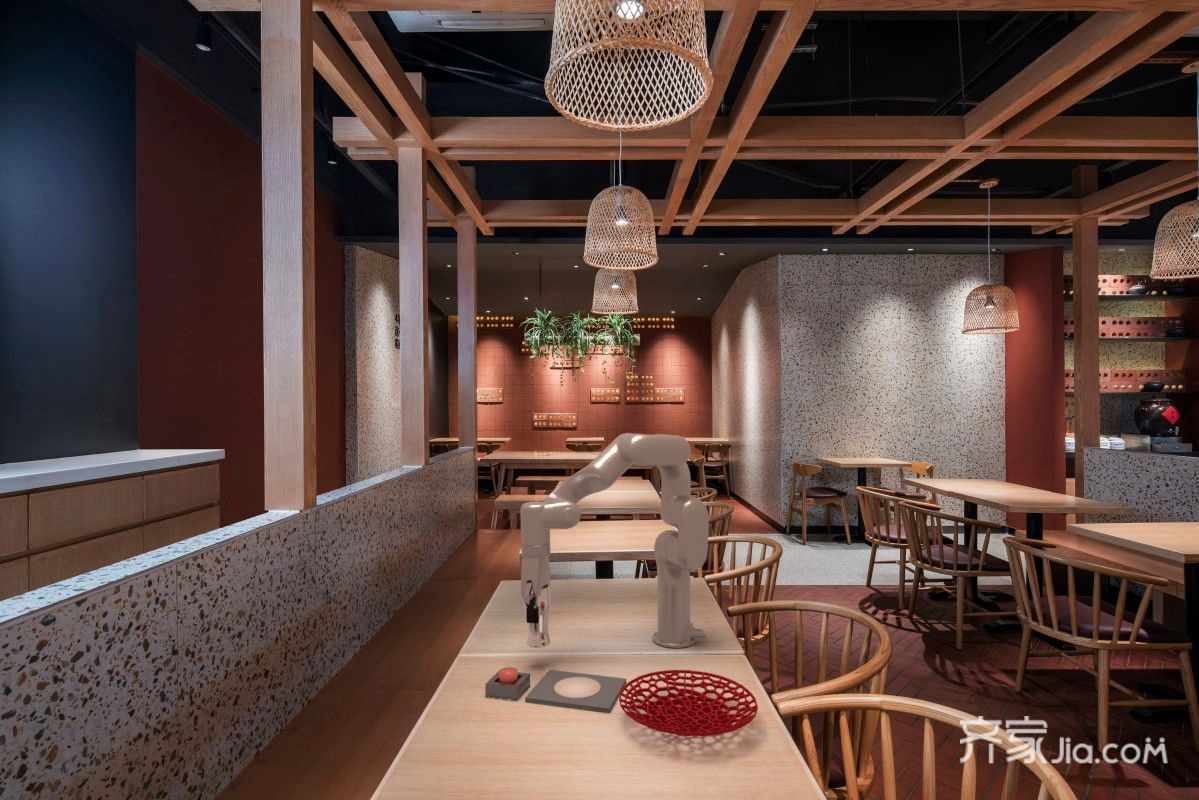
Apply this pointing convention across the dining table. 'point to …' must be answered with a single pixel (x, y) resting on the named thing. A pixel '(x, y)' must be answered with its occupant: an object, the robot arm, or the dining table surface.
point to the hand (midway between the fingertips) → (538, 617)
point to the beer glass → (540, 621)
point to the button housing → (507, 687)
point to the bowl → (688, 704)
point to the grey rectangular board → (577, 691)
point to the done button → (508, 675)
